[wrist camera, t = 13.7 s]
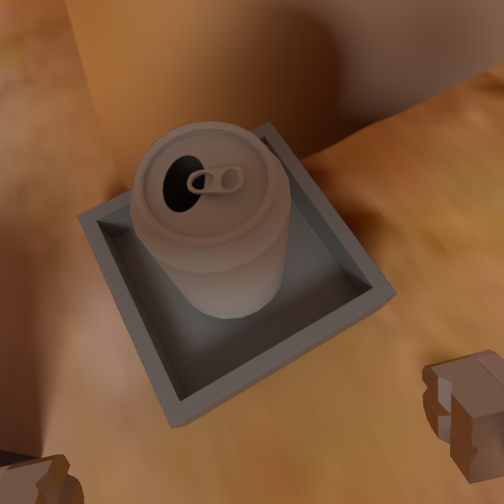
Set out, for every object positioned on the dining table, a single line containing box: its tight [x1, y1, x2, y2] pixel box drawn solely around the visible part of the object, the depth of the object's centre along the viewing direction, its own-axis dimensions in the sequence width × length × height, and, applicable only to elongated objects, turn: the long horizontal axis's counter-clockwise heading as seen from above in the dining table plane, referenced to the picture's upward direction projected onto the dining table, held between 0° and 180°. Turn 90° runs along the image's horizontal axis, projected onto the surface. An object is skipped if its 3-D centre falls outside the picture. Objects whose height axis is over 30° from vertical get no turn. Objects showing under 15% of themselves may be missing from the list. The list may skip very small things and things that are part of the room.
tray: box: [77, 121, 397, 429], centre depth 27 cm, size 15×15×4 cm
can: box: [130, 121, 291, 319], centre depth 22 cm, size 8×8×12 cm
